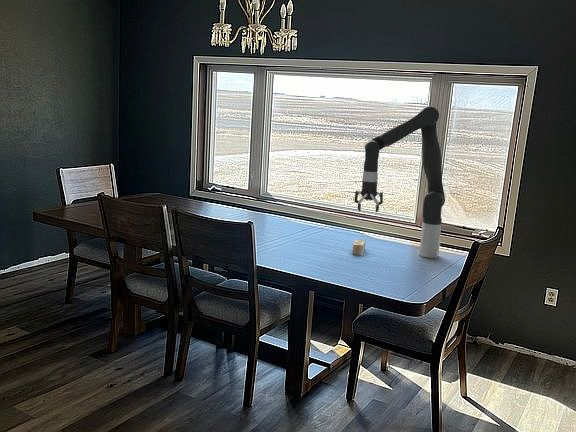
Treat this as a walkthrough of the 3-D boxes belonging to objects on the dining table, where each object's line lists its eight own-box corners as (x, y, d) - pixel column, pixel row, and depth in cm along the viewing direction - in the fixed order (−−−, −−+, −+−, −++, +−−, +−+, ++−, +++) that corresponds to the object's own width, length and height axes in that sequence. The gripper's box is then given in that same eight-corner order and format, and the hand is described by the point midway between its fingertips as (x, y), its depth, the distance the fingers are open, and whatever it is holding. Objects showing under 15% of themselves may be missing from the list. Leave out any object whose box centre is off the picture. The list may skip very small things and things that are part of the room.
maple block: (352, 244, 295) (356, 238, 306) (352, 253, 296) (355, 248, 307) (362, 245, 294) (365, 239, 305) (362, 255, 295) (364, 249, 306)
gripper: (384, 180, 300) (382, 211, 303) (356, 178, 302) (354, 209, 306) (383, 182, 292) (381, 214, 296) (355, 180, 295) (353, 211, 298)
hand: (367, 211), depth 301 cm, fingers open, 8 cm apart
